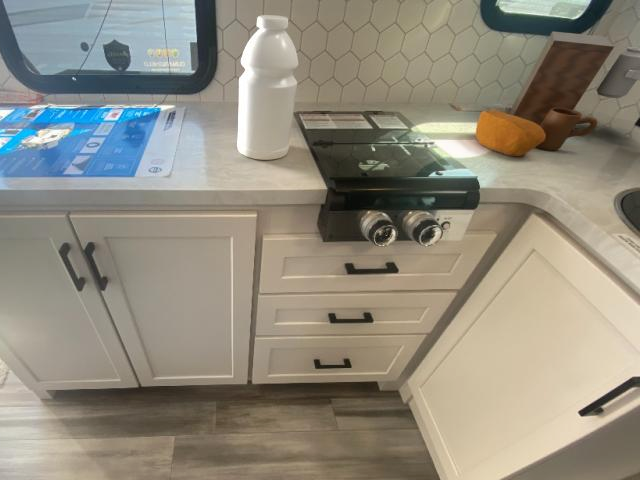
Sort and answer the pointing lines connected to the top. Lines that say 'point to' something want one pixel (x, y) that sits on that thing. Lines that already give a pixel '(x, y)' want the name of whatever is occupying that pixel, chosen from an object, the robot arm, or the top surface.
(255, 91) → the bottle
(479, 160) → the top surface
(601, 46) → the wooden board
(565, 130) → the mug
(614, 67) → the can
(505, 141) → the bread
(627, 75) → the robot arm
